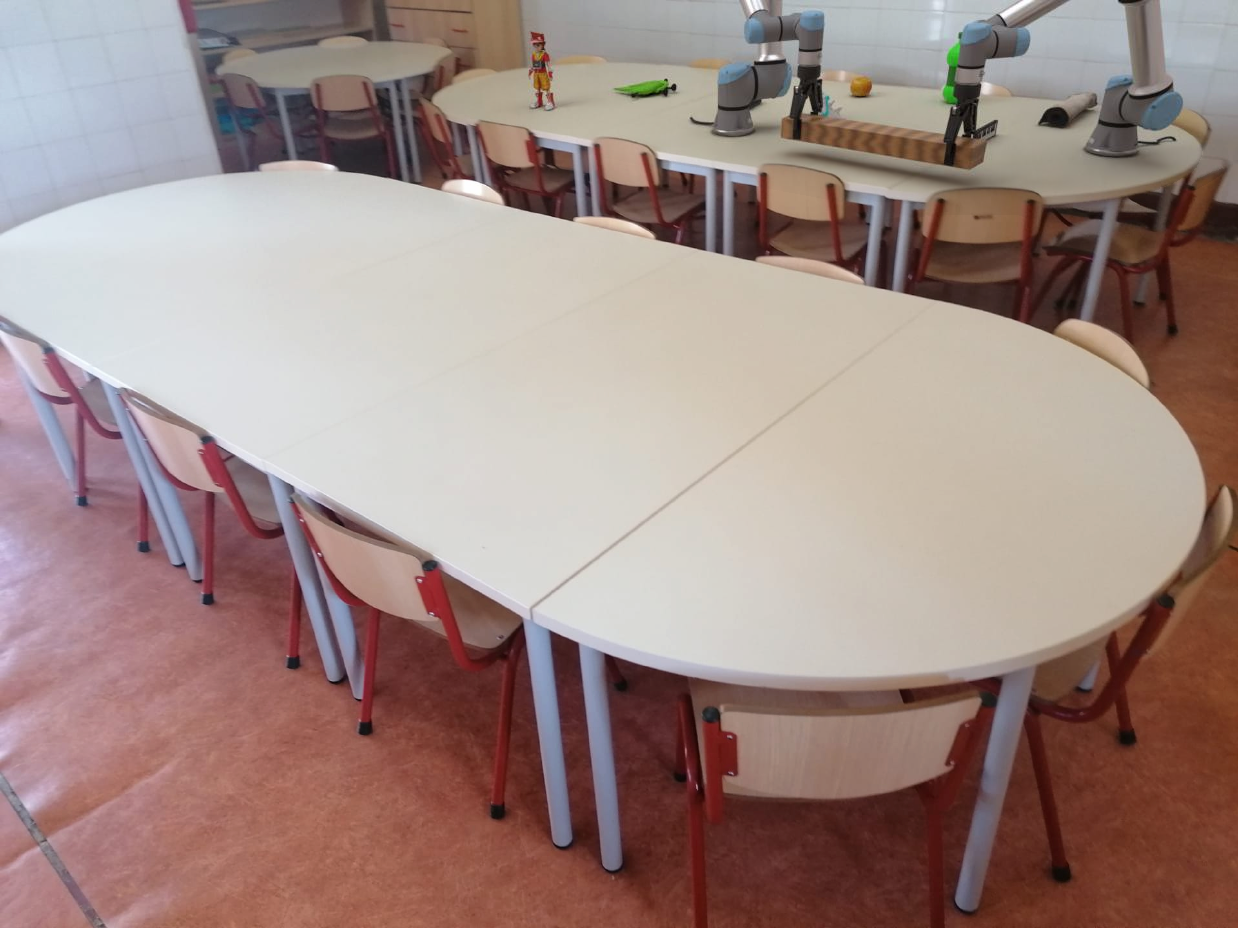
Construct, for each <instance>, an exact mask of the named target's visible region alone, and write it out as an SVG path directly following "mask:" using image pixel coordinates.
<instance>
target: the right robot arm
mask: <svg viewBox="0 0 1238 928" xmlns="http://www.w3.org/2000/svg"><path fill="white" fill-rule="evenodd" d="M1069 1H1071V0H1017V1H1016V2H1014V3H1013V4H1011V5H1009V6H1008V7H1006V8H1004V9H1003V10H1001V11H999V12H998V13H996V14H993V16H990V17H989V18H987V19H977V20H975V21H972V22H971V23H968V24H966V25H964V27H963V29H962V31H961V32H962V37H961V41H960V50H959V57H958V65H957V69H956V76H955V81H956V83H955V84H954V90H953V97H955V98H957V103H955V106H951V107H950V109H949V116H948V120H947V124H946V129H945V132H944V134H945V136H944V140H943V142H944V143H947V144H946V151H945V157H944V164H943V165H948V166H947V167H949V166H953V163H954V156H955V150H956V143H955V141H956V138H957V136H959V133H960V130H961V127H962V125H963V128H962V129H963V133H962V134H961V137H967V138H973V135H975V133H976V131H975V130H977V126H978V125H977V121H978V109H979V108H978V107H979V101H980V96H981V91H982V82H983V77H984V75H985V74H986V72H985V67H986V63H987V60H995V59H1005V58H1012V59H1013V58H1016V57H1022V56H1024V55H1025V54H1026V53H1027V52H1028V50H1029V48H1030V44H1031V33H1030V31H1029V29H1028V28H1026V27H1027V26H1029V25H1030V24H1033V23H1034V22H1036V21H1038V20H1039V19H1041V18H1042V17H1045V16H1046V15H1047V14H1049V13H1051V12H1053V11H1055V10H1056V9H1058V8H1059V7H1061V6H1063V5H1065V4H1067V3H1068V2H1069ZM1117 2H1118V4H1120V5H1122V6H1124V11H1125V22H1126V29H1127V31H1126V32H1127V40H1128V48H1129V57H1130V65H1131V74H1121V75H1114V76H1111V77H1110V78H1109V79H1108V81H1107V84H1106V86H1105V89H1104V94H1103V98H1102V102H1101V108H1100V111H1099V115H1098V120H1097V124H1096V126H1095V128H1094V130H1092V132H1091V135H1090V136H1089V138H1088V140H1087V142H1086V144H1085V147H1084V149H1085V151H1086V152H1088V153H1090V154H1093V155H1096V156H1101V157H1113V158H1121V157H1129V156H1133V155H1135V154H1137V153H1138V149H1139V145H1140V144H1141V145H1159V144H1160V142H1161V141H1164V140H1169V139H1170V140H1172V141H1173V142H1176V141H1177V139H1176V137H1175V136H1172V135H1167V136H1163V137H1160V138H1158V139H1156V141H1145V140H1144V141H1143V140H1139V137H1138V127H1139V128H1142V129H1143V130H1147V131H1152V132H1157V131H1163V130H1165V129H1166V128H1168V127H1170V126H1171V125H1172V124H1173V123H1174V122H1175V121H1176V120H1177V118H1178V117H1179V116H1180V114H1181V113H1182V111H1183V107H1184V99H1183V96H1182V94H1180V92H1178V91H1175V89H1174V88H1175V87H1174V80H1173V76H1172V75H1170V74H1168V73H1167V66H1166V55H1165V44H1164V43H1165V42H1164V32H1163V19H1162V9H1161V0H1117ZM943 165H942V166H943Z"/></svg>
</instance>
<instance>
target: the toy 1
mask: <svg viewBox="0 0 1238 928" xmlns="http://www.w3.org/2000/svg"><path fill="white" fill-rule="evenodd" d="M529 33H530V35H531V36H528V37H527V38H528V39H529V40H528V41H527V43H529V44H530V43H531V44H532V48H533V50H534V51H533V52H532V55H531V58H530V59H531V63H530V66H528V74H527V75H528V76H527V77H528V79H529V80H531V75H532V74H533V84H532V85H533V86H532V87H533V88H534V89H535V90H536V92H534V95H535V97H536V100H535V101H533V102H531V105H530V108H531V109H535V108H538V107H542V106H544V101H543V100H544V99H543V95H544V92H546V94H545V97H546V99H547V103H546V104H545V106H544V110H546V111H549V110H553V109H554V107H555V106H556V105H555V99H554V92H551V91H550V90H551V86H552V84H551V82H552V81H553V80H554V77H553V73H554V71H555V70H554V69H552V68H551V63H550V61H551V59H550V58H551V57H550V54H549V53H548V52H547V50H546V48H545V46H546V44H547V41H545V35H544V33H543V32H542V33H539V32H535V31H529Z"/></svg>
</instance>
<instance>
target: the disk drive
mask: <svg viewBox="0 0 1238 928" xmlns="http://www.w3.org/2000/svg"><path fill="white" fill-rule="evenodd" d="M762 102H763V99H760V100H751V101H749V110H750V109H752V108H753V107H756V106H757V105H759V104H761V103H762Z"/></svg>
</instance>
